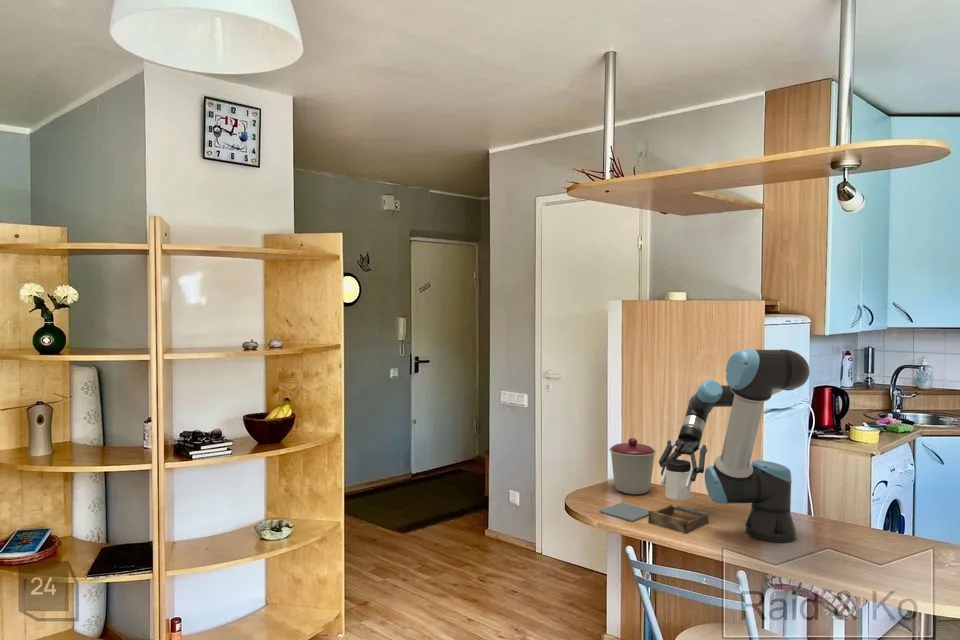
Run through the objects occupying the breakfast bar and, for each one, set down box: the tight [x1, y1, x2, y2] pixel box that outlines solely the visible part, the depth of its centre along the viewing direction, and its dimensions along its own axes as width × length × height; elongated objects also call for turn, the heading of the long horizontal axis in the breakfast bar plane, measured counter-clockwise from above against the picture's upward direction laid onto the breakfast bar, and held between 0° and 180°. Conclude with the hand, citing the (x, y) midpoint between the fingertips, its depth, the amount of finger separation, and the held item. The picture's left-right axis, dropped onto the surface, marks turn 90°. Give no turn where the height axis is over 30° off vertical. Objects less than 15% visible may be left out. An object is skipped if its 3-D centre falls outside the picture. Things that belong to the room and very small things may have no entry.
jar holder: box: [647, 503, 710, 534], centre depth 226 cm, size 14×15×4 cm
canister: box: [608, 437, 657, 495], centre depth 262 cm, size 18×18×21 cm
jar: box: [665, 458, 692, 501], centre depth 226 cm, size 9×8×12 cm
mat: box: [598, 502, 656, 523], centre depth 236 cm, size 14×14×1 cm
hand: (674, 486), depth 223 cm, fingers closed on jar, 8 cm apart
